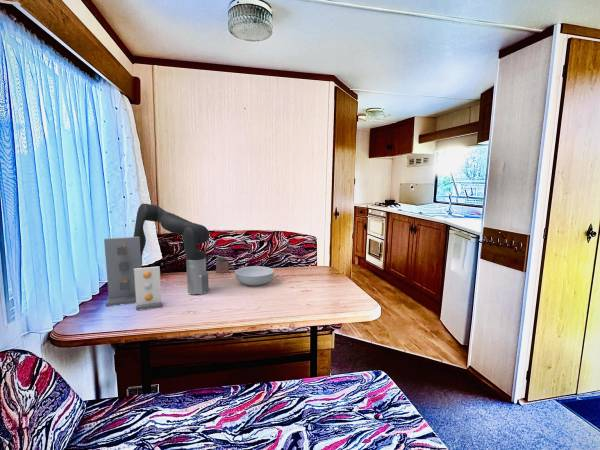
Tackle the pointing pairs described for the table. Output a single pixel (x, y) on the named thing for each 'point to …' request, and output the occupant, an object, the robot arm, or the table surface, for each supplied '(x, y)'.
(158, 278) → the pattern card
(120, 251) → the button top
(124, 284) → the button bottom
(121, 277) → the button panel
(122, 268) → the button middle
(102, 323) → the table surface
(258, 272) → the serving bowl
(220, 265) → the lighter
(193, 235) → the robot arm
